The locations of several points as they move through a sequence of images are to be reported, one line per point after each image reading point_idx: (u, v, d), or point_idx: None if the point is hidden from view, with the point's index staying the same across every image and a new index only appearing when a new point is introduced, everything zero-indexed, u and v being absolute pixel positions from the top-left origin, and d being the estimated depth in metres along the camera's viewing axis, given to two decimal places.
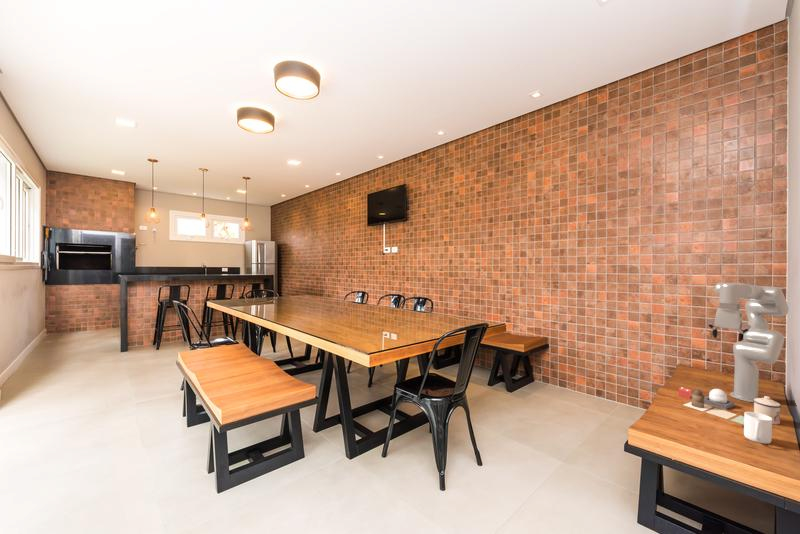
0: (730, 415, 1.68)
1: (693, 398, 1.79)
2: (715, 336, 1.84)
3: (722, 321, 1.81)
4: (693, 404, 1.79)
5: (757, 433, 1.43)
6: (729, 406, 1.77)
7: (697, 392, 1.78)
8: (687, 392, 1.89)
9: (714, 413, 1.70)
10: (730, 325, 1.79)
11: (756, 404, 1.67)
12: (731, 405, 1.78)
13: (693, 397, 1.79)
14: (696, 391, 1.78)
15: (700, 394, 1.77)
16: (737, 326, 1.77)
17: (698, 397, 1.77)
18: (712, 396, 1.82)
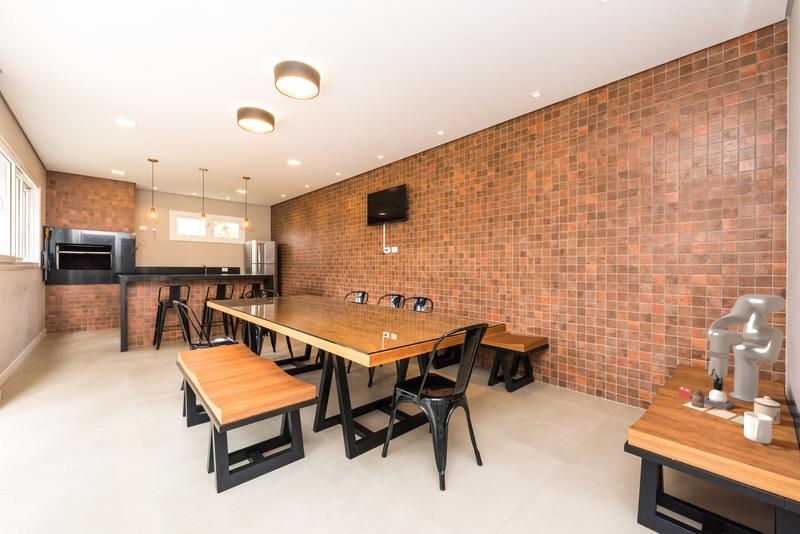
0: (730, 415, 1.68)
1: (693, 398, 1.79)
2: (721, 389, 1.80)
3: (722, 371, 1.79)
4: (693, 404, 1.79)
5: (757, 433, 1.43)
6: (729, 406, 1.77)
7: (697, 392, 1.78)
8: (687, 392, 1.89)
9: (714, 413, 1.70)
10: (725, 373, 1.80)
11: (756, 404, 1.67)
12: (731, 405, 1.78)
13: (693, 397, 1.79)
14: (696, 391, 1.78)
15: (700, 394, 1.77)
16: (726, 372, 1.82)
17: (698, 397, 1.77)
18: (712, 397, 1.82)
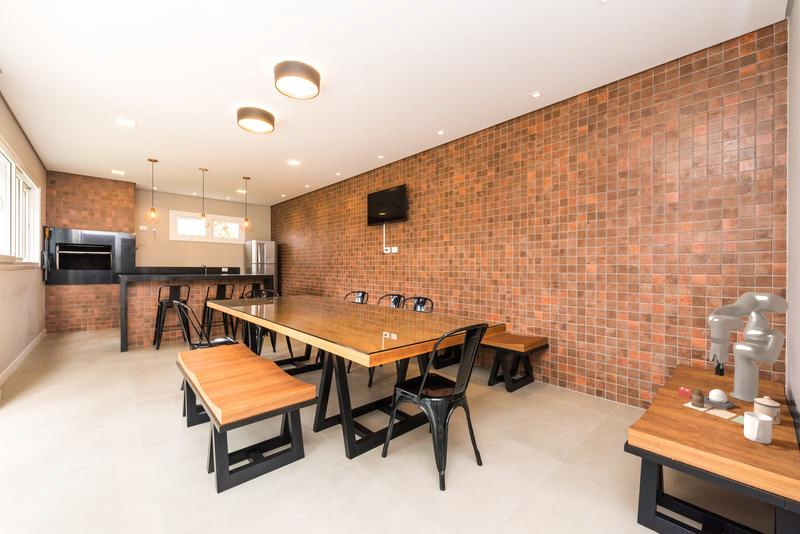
0: (730, 415, 1.68)
1: (693, 398, 1.79)
2: (723, 374, 1.80)
3: (723, 356, 1.79)
4: (693, 404, 1.79)
5: (757, 433, 1.43)
6: (729, 406, 1.77)
7: (697, 392, 1.78)
8: (687, 392, 1.89)
9: (714, 413, 1.70)
10: (726, 359, 1.80)
11: (756, 404, 1.67)
12: (731, 405, 1.78)
13: (693, 397, 1.79)
14: (696, 391, 1.78)
15: (700, 394, 1.77)
16: (727, 358, 1.82)
17: (698, 397, 1.77)
18: (712, 397, 1.82)
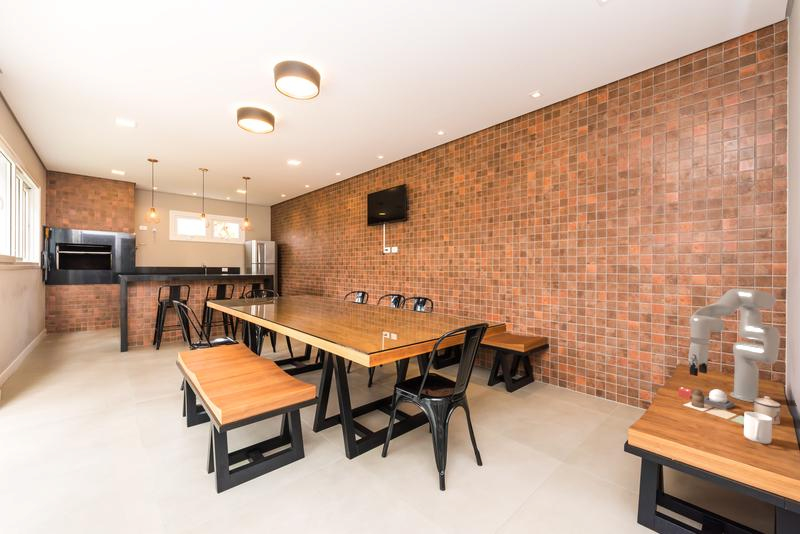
0: (730, 415, 1.68)
1: (693, 398, 1.79)
2: (697, 374, 1.75)
3: (702, 357, 1.76)
4: (693, 404, 1.79)
5: (757, 433, 1.43)
6: (729, 406, 1.77)
7: (697, 392, 1.78)
8: (687, 392, 1.89)
9: (714, 413, 1.70)
10: (705, 360, 1.77)
11: (756, 404, 1.67)
12: (731, 405, 1.78)
13: (693, 397, 1.79)
14: (696, 391, 1.78)
15: (700, 394, 1.77)
16: (707, 359, 1.79)
17: (698, 397, 1.77)
18: (712, 397, 1.82)
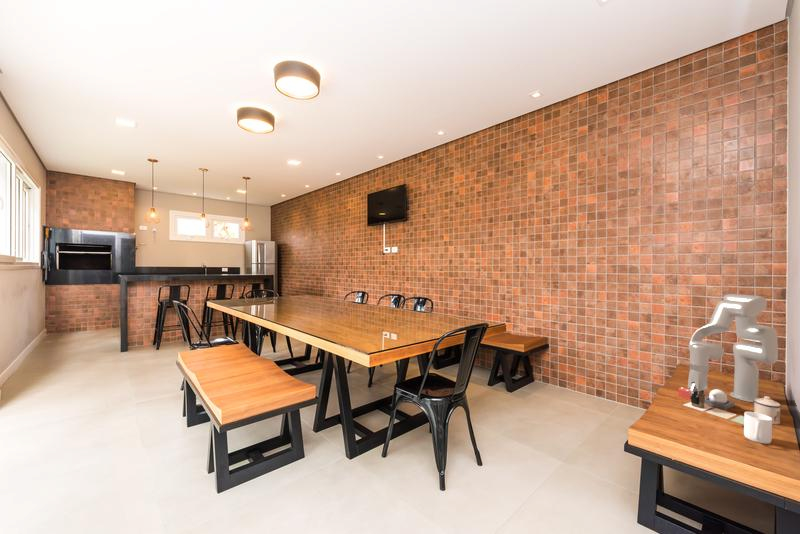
0: (730, 415, 1.68)
1: None
2: None
3: (702, 384, 1.76)
4: (693, 404, 1.79)
5: (757, 433, 1.43)
6: (729, 406, 1.77)
7: None
8: (687, 392, 1.89)
9: (714, 413, 1.70)
10: (704, 387, 1.78)
11: (756, 404, 1.67)
12: (731, 405, 1.78)
13: None
14: None
15: (700, 394, 1.77)
16: (706, 385, 1.79)
17: None
18: (712, 397, 1.82)
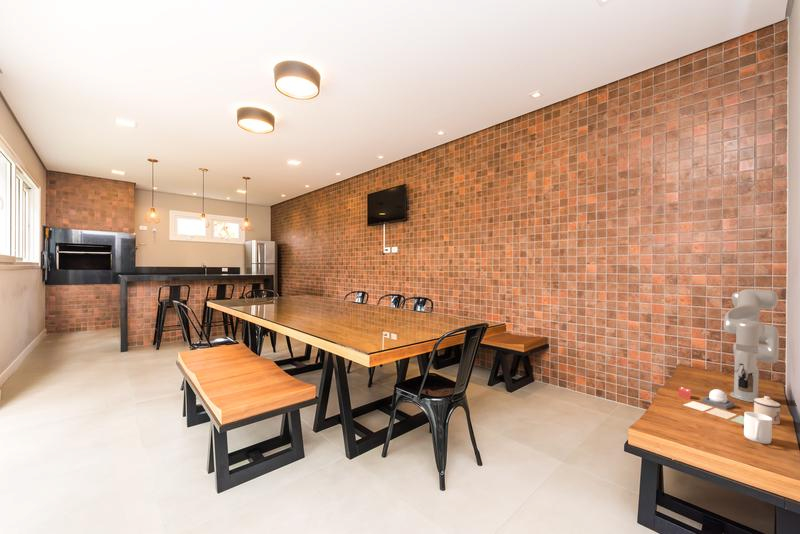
0: (730, 415, 1.68)
1: None
2: (747, 387, 1.60)
3: (751, 366, 1.60)
4: (740, 388, 1.62)
5: (757, 433, 1.43)
6: (729, 406, 1.77)
7: None
8: (687, 392, 1.89)
9: (714, 413, 1.70)
10: (753, 369, 1.61)
11: (756, 404, 1.67)
12: (731, 405, 1.78)
13: None
14: (744, 374, 1.62)
15: (749, 377, 1.61)
16: (755, 368, 1.63)
17: None
18: (712, 397, 1.82)
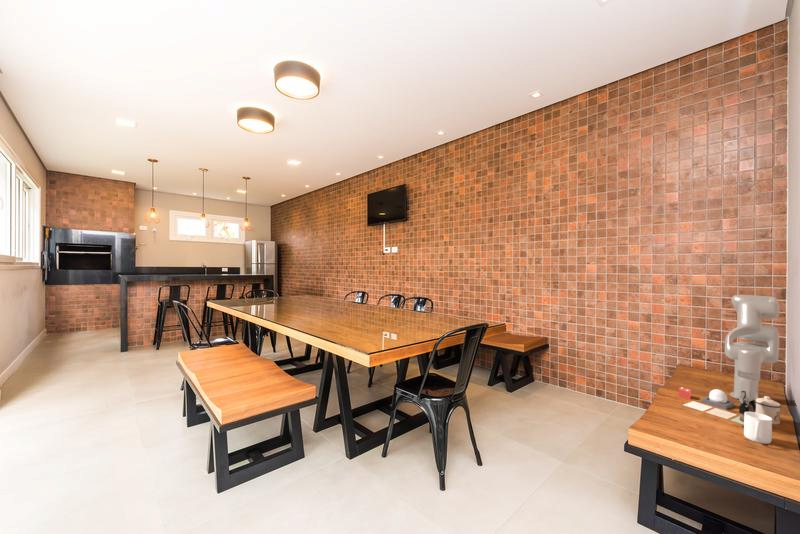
0: (730, 415, 1.68)
1: None
2: None
3: (753, 393, 1.59)
4: (742, 419, 1.62)
5: (757, 433, 1.43)
6: (729, 406, 1.77)
7: None
8: (687, 392, 1.89)
9: (714, 413, 1.70)
10: (755, 396, 1.61)
11: (756, 404, 1.67)
12: (731, 405, 1.78)
13: None
14: None
15: (750, 408, 1.60)
16: (757, 395, 1.62)
17: None
18: (712, 397, 1.82)
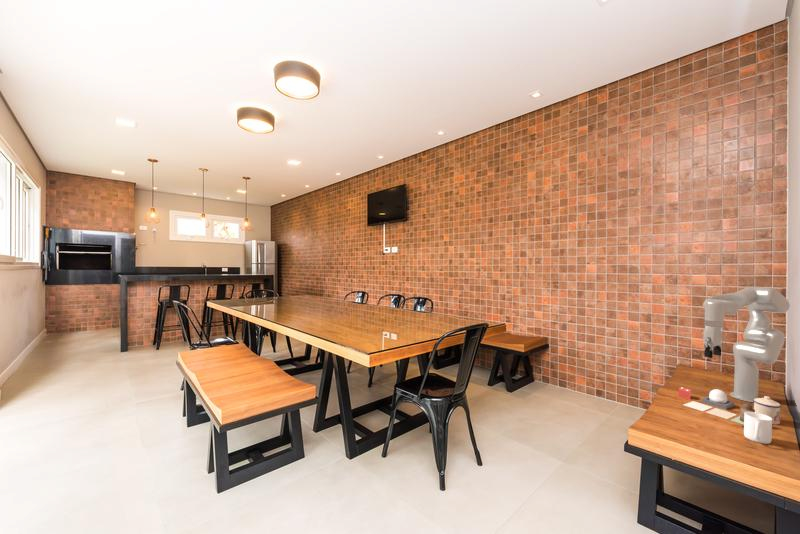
0: (730, 415, 1.68)
1: (742, 412, 1.62)
2: None
3: (717, 339, 1.79)
4: (742, 419, 1.62)
5: (757, 433, 1.43)
6: (729, 406, 1.77)
7: (746, 406, 1.61)
8: (687, 392, 1.89)
9: (714, 413, 1.70)
10: (719, 342, 1.81)
11: (756, 404, 1.67)
12: (731, 405, 1.78)
13: (742, 411, 1.62)
14: (745, 405, 1.62)
15: (750, 408, 1.61)
16: (721, 341, 1.82)
17: (748, 411, 1.60)
18: (712, 397, 1.82)
